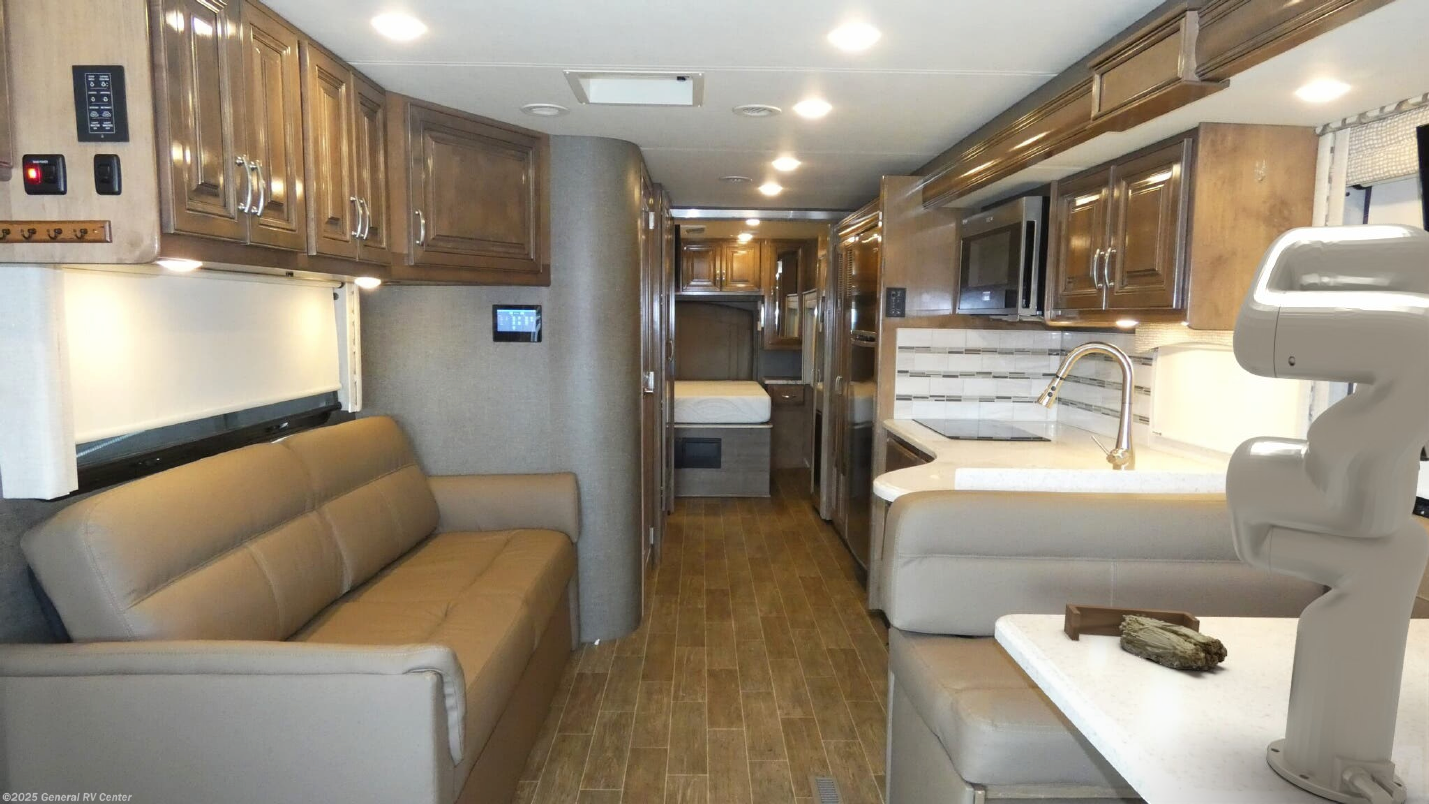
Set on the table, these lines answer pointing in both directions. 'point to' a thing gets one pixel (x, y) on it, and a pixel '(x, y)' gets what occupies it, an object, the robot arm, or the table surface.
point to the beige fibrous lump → (1170, 644)
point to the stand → (1117, 619)
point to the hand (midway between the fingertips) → (1378, 508)
